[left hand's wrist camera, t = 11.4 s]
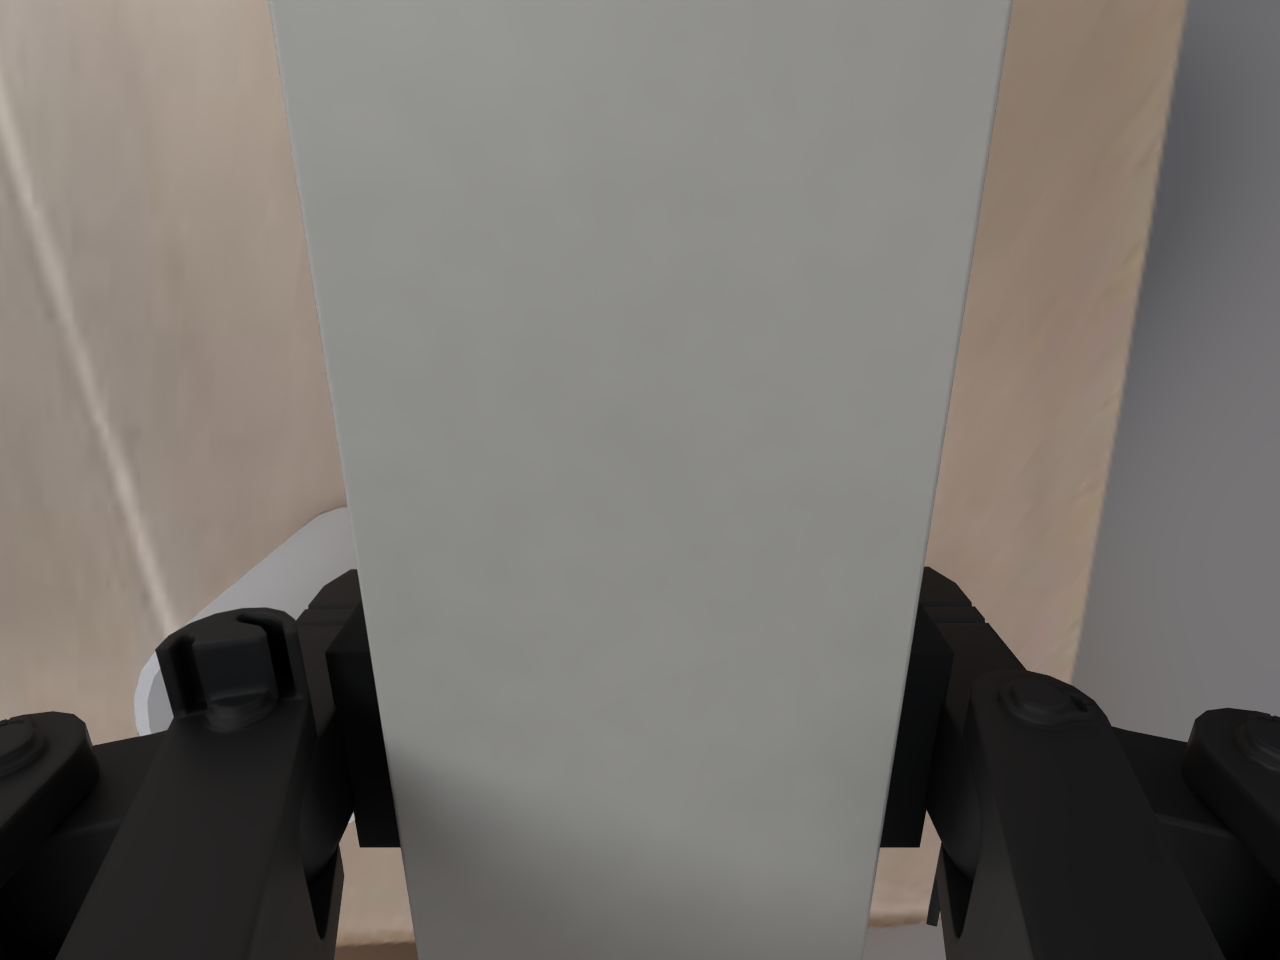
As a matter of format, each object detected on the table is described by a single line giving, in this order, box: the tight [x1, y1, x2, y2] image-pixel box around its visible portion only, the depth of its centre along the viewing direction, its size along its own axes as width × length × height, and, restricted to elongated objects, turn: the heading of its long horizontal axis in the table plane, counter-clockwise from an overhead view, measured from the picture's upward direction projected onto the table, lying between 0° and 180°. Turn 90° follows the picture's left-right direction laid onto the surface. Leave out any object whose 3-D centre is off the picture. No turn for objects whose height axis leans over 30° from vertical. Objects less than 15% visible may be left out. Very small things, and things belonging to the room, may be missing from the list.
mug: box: [134, 505, 357, 823], centre depth 30 cm, size 11×9×10 cm
